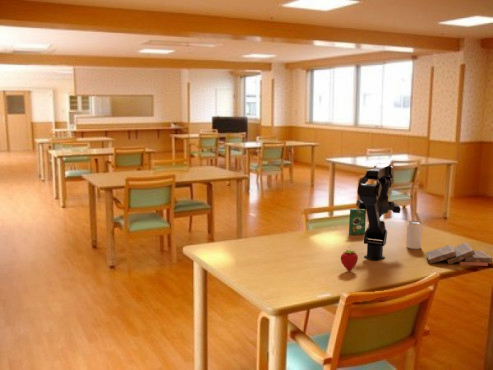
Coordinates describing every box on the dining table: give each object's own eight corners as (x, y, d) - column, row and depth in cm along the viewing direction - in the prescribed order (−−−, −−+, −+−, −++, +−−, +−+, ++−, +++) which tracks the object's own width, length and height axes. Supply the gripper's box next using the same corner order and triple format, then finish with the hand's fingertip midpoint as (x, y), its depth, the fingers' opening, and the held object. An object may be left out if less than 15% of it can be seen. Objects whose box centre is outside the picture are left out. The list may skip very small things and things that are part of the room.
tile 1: (428, 259, 207) (455, 251, 204) (425, 252, 216) (451, 244, 213) (430, 264, 207) (456, 255, 204) (427, 256, 216) (452, 248, 213)
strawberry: (336, 270, 198) (337, 246, 197) (350, 267, 203) (350, 243, 201) (347, 275, 194) (348, 250, 192) (361, 271, 198) (361, 247, 196)
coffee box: (363, 233, 257) (363, 208, 255) (365, 234, 254) (366, 209, 252) (348, 234, 255) (349, 208, 253) (350, 235, 253) (351, 210, 251)
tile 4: (460, 262, 205) (488, 263, 204) (453, 255, 215) (479, 255, 214) (459, 266, 206) (487, 267, 204) (452, 259, 215) (479, 260, 214)
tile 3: (465, 257, 205) (492, 257, 204) (456, 250, 215) (482, 250, 214) (465, 262, 205) (492, 262, 205) (455, 255, 215) (481, 255, 215)
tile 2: (447, 260, 206) (473, 250, 203) (441, 252, 215) (466, 242, 213) (449, 264, 206) (475, 254, 203) (443, 256, 215) (468, 246, 213)
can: (418, 250, 226) (419, 224, 224) (404, 247, 230) (405, 222, 228) (422, 247, 231) (424, 221, 229) (409, 244, 235) (410, 220, 233)
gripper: (365, 194, 212) (358, 228, 217) (408, 199, 214) (400, 232, 218) (359, 187, 223) (352, 219, 227) (399, 191, 224) (392, 223, 229)
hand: (374, 224), depth 225 cm, fingers closed
